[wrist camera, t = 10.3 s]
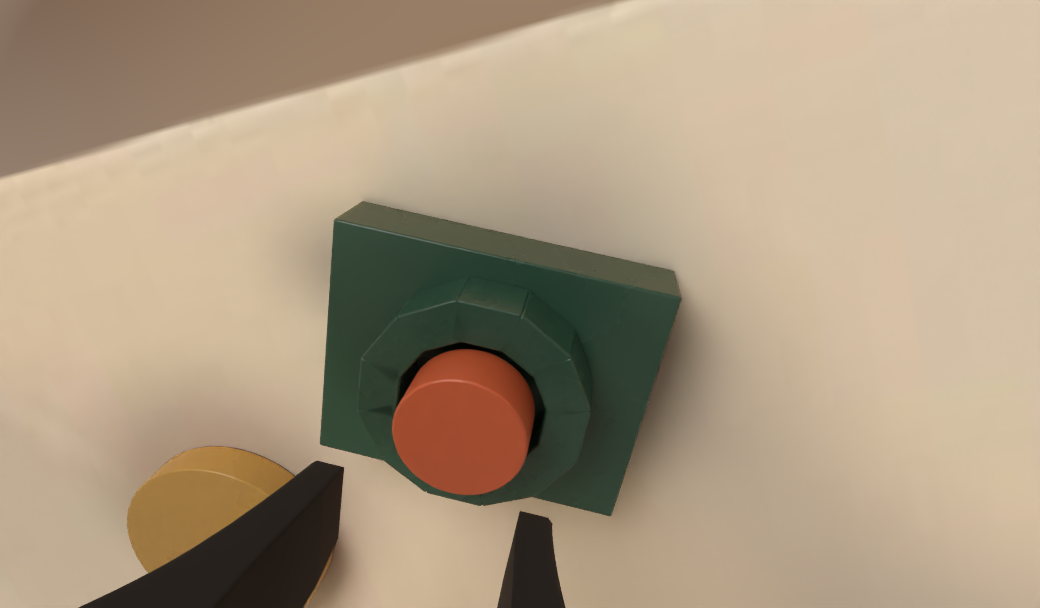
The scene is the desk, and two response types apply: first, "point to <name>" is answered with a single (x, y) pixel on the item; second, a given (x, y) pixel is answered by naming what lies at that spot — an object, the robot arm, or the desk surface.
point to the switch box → (495, 342)
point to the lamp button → (465, 422)
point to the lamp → (198, 501)
